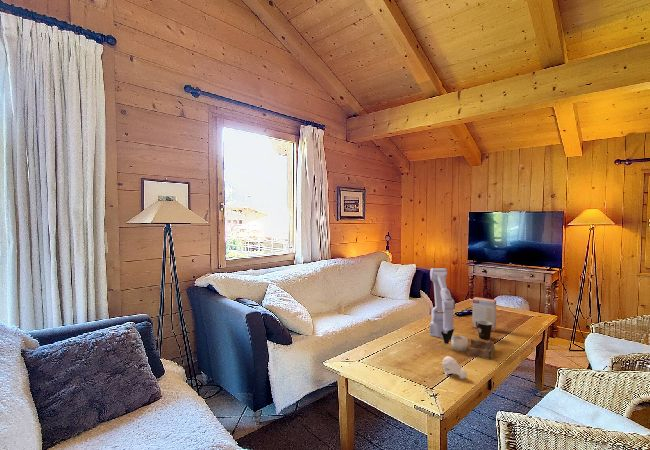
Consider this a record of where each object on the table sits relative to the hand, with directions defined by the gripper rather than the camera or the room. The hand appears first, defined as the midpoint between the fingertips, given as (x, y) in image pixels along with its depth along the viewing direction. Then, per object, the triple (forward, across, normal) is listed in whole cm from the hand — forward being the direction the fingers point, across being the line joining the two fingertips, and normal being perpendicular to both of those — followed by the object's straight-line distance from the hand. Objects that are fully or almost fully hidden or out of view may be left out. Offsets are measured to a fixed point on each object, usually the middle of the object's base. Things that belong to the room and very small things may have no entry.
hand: (447, 341), depth 203 cm
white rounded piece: (+3, -37, -12) cm, 39 cm away
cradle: (+2, 0, -18) cm, 18 cm away
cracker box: (+3, +43, -14) cm, 46 cm away
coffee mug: (+3, +26, -16) cm, 31 cm away
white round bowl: (+2, 0, -7) cm, 7 cm away
